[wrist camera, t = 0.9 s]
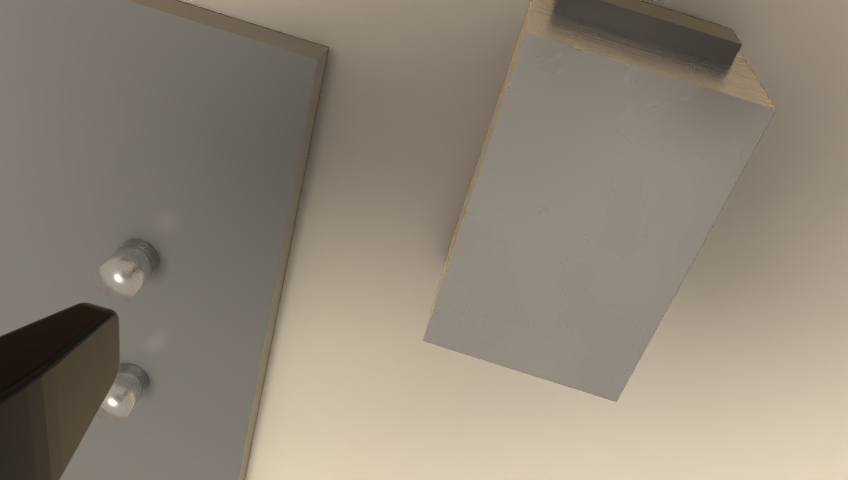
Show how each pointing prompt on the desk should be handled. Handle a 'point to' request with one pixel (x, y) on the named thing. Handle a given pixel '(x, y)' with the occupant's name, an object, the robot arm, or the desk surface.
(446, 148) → the desk surface
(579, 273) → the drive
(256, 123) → the pin tray
